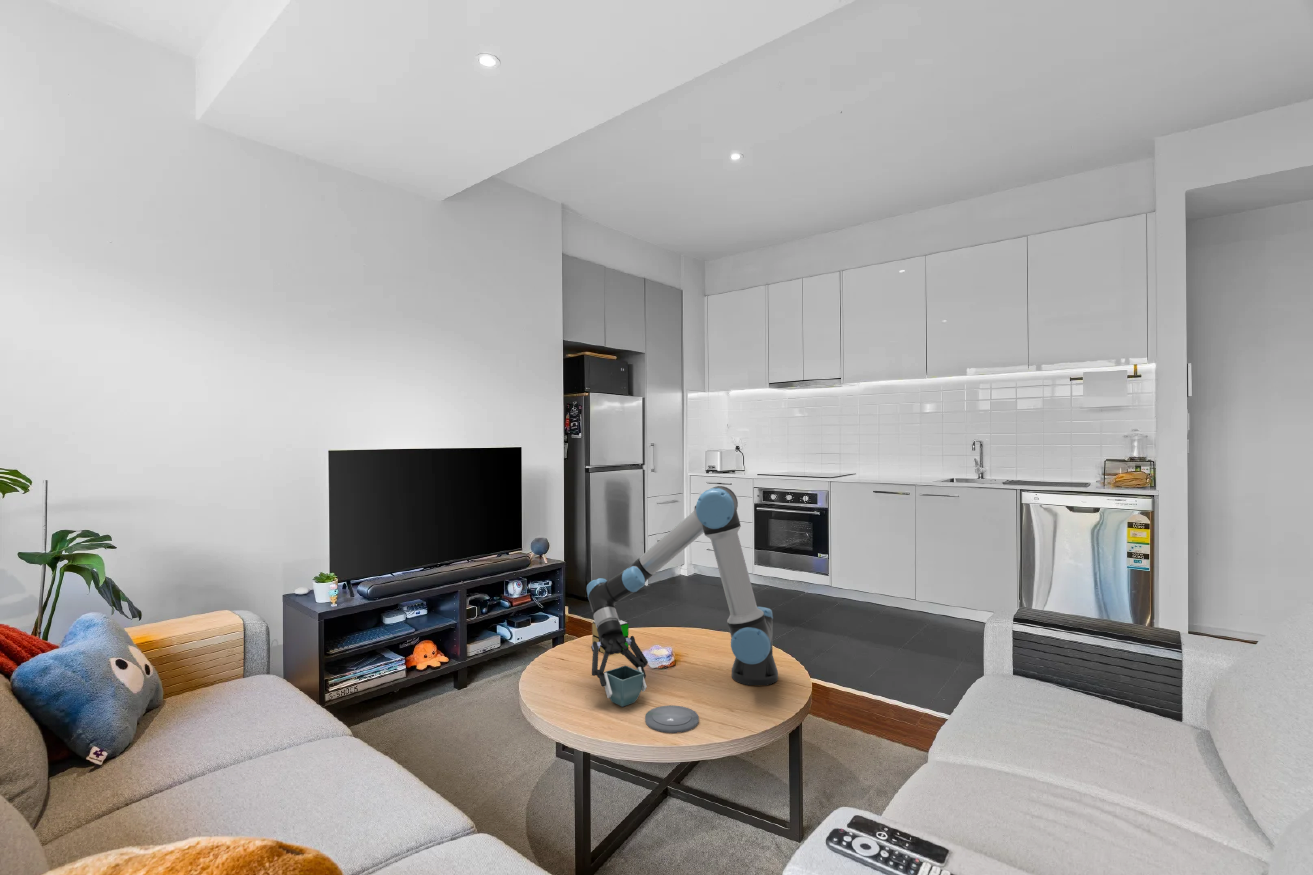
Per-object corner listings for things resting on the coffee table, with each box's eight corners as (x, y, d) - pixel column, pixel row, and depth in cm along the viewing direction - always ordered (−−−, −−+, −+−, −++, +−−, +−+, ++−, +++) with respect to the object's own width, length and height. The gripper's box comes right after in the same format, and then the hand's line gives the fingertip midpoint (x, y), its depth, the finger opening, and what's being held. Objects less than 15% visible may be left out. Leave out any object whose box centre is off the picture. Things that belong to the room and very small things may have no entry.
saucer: (701, 710, 180) (701, 706, 180) (695, 735, 166) (695, 730, 166) (650, 706, 183) (650, 702, 183) (640, 730, 168) (640, 725, 168)
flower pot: (644, 702, 186) (644, 672, 186) (622, 711, 180) (622, 680, 180) (625, 694, 192) (625, 665, 193) (602, 702, 186) (603, 672, 186)
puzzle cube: (613, 642, 241) (613, 616, 241) (629, 649, 234) (629, 622, 234) (591, 648, 235) (591, 621, 235) (607, 655, 227) (607, 627, 227)
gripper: (637, 626, 205) (658, 691, 191) (570, 635, 195) (587, 705, 181) (644, 614, 200) (666, 680, 186) (576, 623, 190) (593, 693, 176)
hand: (627, 692), depth 184 cm, fingers closed on flower pot, 10 cm apart
